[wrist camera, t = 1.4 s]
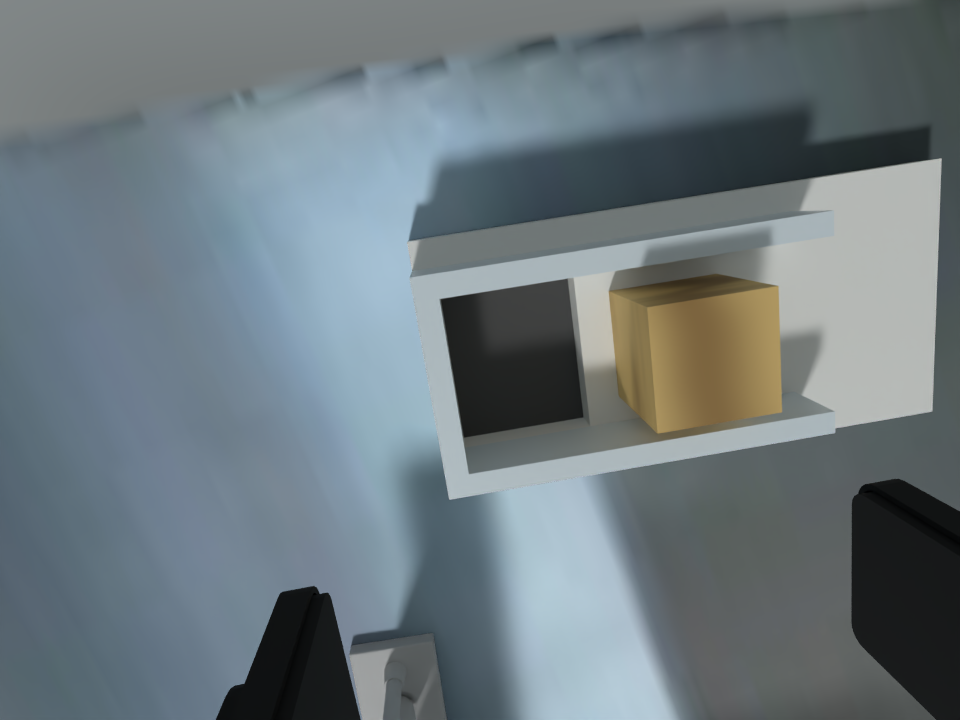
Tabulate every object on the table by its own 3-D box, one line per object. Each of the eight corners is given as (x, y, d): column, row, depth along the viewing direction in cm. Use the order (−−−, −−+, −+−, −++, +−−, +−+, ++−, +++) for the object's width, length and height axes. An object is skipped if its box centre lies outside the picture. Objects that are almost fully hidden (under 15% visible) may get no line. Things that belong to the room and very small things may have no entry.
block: (716, 273, 27) (778, 286, 22) (722, 378, 28) (782, 412, 23) (608, 291, 27) (647, 307, 22) (618, 396, 28) (657, 433, 23)
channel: (915, 161, 28) (1004, 151, 24) (908, 402, 31) (986, 432, 26) (408, 240, 27) (403, 245, 23) (450, 481, 30) (453, 526, 26)
